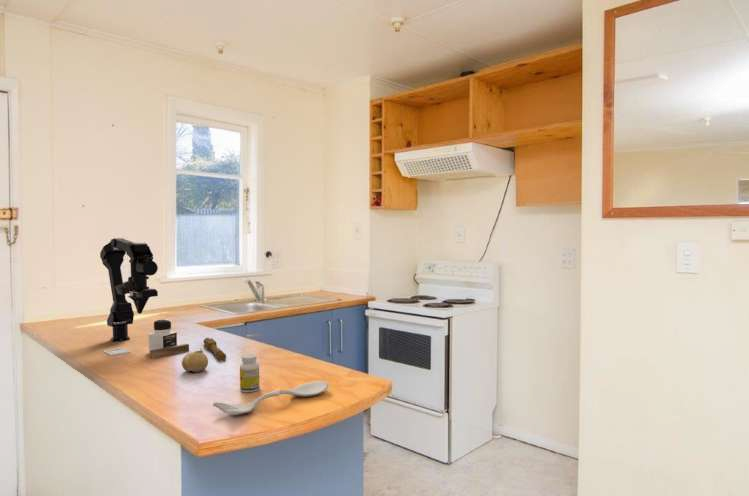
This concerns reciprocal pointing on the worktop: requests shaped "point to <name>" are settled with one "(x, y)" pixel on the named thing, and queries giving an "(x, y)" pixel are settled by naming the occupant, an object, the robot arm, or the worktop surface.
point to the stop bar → (169, 350)
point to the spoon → (301, 390)
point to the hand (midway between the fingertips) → (139, 313)
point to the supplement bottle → (249, 374)
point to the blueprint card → (116, 351)
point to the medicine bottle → (162, 335)
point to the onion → (195, 361)
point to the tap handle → (214, 349)
